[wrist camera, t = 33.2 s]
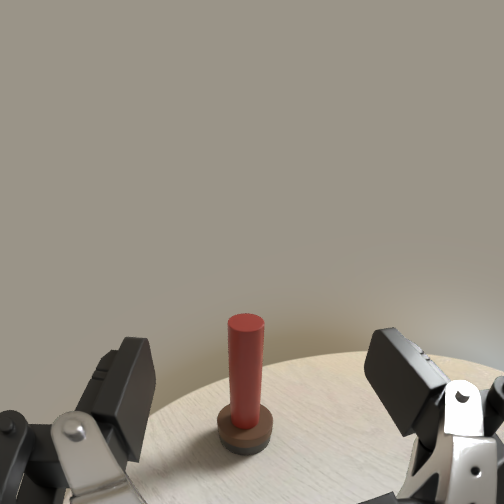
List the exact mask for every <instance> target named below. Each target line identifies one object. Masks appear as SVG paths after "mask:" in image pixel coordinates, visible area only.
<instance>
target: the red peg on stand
mask: <svg viewBox="0 0 504 504" xmlns="http://www.w3.org/2000/svg"><path fill="white" fill-rule="evenodd" d="M263 342H264V321H263V319H262V318H261V317H259V316H257V315H254V314H247V313H245V314H237V315H234V316H232V317H231V318H230V319H229V320H228V350H229V351H228V353H229V383H230V404H229V405H227V406H225V407H224V408H223V409H222V410H221V411H220V413H219V414H218V417H217V425H218V432H219V434H220V440H221V443H222V445H223V446H224V447H225V448H226V449H227V450H229V451H230V452H232V453H235V454H239V455H252V454H256V453H258V452H260V451H262V450H263V449H264V448H265V447H266V446H267V445H268V443H269V441H270V435H271V433H272V427H273V417H272V414H271V413H270V411H269V410H268V409H267V408H266V407H264V406H263V405H261V404H260V398H261V380H262V362H263Z"/></svg>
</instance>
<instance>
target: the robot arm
mask: <svg viewBox="0 0 504 504" xmlns="http://www.w3.org/2000/svg"><path fill="white" fill-rule="evenodd" d="M364 372H365V376H366V378H367V380H368V381H369V383H370V384H371V386H372V387H373V389H374V391H375V392H376V394H377V395H378V397H379V399H380V400H381V402H382V403H383V405H384V407H385V408H386V410H387V411H388V413H389V415H390V416H391V418H392V420H393V421H394V423H395V424H396V426H397V428H398V429H399V431H400V433H401V434H402V436H403V437H405V436H408V435H411V434H413V433H416V435H417V437H416V439H415V441H414V444H413V449H412V454H411V459H410V463H409V467H408V471H407V475H406V479H405V482H404V484H403V486H402V488H401V490H400V491H399V493H398V494H397V496H396V497H395V495H394V493H393V491H392V492H390V493H387V494H385V495H382V496H379V497H376V498H374V499H371V500H368V501H365V502H361V503H358V504H496V503H497V504H504V444H503V443H502V441H501V440H500V439H499V437H498V436H497V434H496V433H495V432H496V431H497V429H498V428H499V427H500V426H501V424H502V423H503V421H504V376H500V377H497V378H496V379H495V381H494V383H493V384H492V386H491V388H490V389H486V390H477V388H476V387H475V386H473V385H472V384H470V383H468V382H466V381H460V380H459V381H453V382H452V381H451V380H450V379H449V378H448V377H447V376H446V375H445V374H444V373H443V371H442V370H441V369H440V368H439V367H438V366H437V365H436V364H435V363H434V362H433V361H432V360H430V358H429V357H428V356H427V355H426V354H424V351H423V350H422V349H421V348H420V347H419V346H418V345H417V344H415V343H413V342H412V341H410V340H408V339H406V338H405V337H404V336H403V335H402V334H401V333H400V332H399V331H398V330H397V329H396V328H394V327H392V328H386V329H379V330H375V331H374V333H373V335H372V339H371V342H370V346H369V349H368V353H367V356H366V360H365V363H364ZM155 384H156V377H155V370H154V365H153V361H152V356H151V351H150V345H149V341H148V339H147V338H136V337H125V338H124V340H123V342H122V344H121V346H120V348H119V350H111V351H110V352H108V353H107V354H106V355H105V356H103V357H102V358H101V360H100V362H99V364H98V366H97V367H96V371H94V373H93V375H92V379H90V381H89V383H88V385H87V387H86V389H85V391H84V393H83V395H82V397H81V399H80V401H79V403H78V405H77V407H76V409H75V411H70V412H66V413H64V414H62V415H60V416H59V417H57V419H56V420H55V421H54V422H53V424H50V425H47V424H46V425H45V424H43V425H42V424H28V422H27V421H26V419H25V418H24V416H23V415H22V414H20V413H19V412H17V411H14V410H7V411H3V412H1V413H0V504H63V500H64V495H65V491H66V488H70V489H71V491H72V494H73V497H70V504H147V503H146V501H145V500H144V498H143V497H142V496H141V494H140V493H139V491H138V490H137V488H136V487H135V485H134V484H133V482H132V481H131V479H130V478H129V476H128V475H127V473H126V471H125V470H126V465H127V461H132V462H138V463H139V459H140V454H141V449H142V444H143V439H144V435H145V430H146V425H147V421H148V417H149V412H150V408H151V404H152V400H153V395H154V391H155ZM23 473H24V476H23ZM22 476H23V479H22ZM21 479H22V483H21V486H20V489H19V485H20V482H21ZM18 489H19V492H18V495H17V491H18ZM16 495H17V499H16Z"/></svg>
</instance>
